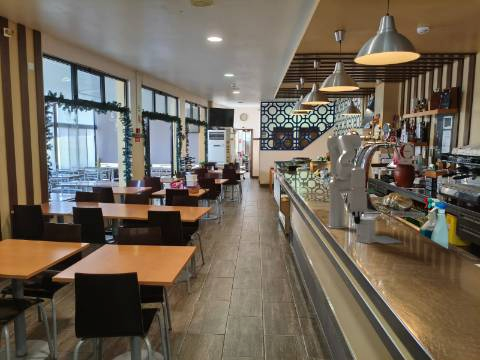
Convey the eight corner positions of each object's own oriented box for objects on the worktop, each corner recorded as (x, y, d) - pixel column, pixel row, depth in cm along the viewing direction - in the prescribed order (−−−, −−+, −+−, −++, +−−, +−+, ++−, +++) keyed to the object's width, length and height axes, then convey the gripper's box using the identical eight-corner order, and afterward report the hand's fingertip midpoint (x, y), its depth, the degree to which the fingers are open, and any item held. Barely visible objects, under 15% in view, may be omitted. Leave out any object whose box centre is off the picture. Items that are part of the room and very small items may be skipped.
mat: (365, 237, 216) (365, 236, 216) (384, 236, 219) (384, 235, 219) (382, 244, 201) (382, 243, 201) (402, 243, 204) (402, 242, 204)
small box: (375, 242, 206) (375, 219, 205) (368, 244, 202) (369, 220, 201) (362, 239, 212) (362, 216, 211) (355, 241, 208) (356, 218, 207)
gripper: (366, 189, 208) (365, 221, 210) (341, 190, 205) (341, 223, 207) (373, 190, 201) (372, 224, 203) (349, 191, 198) (348, 225, 199)
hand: (356, 223), depth 205 cm, fingers closed
